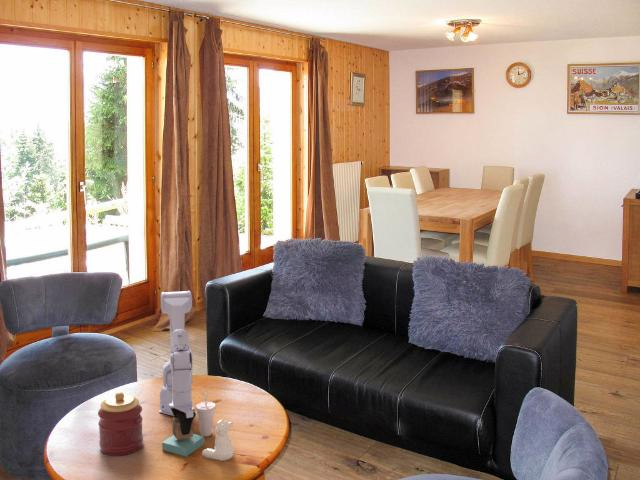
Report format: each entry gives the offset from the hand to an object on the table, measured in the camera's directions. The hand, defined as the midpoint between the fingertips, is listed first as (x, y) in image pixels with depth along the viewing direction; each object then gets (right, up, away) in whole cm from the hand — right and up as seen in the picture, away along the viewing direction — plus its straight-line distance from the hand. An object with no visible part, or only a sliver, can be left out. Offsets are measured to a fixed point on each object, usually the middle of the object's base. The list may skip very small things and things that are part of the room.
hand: (182, 430), depth 206 cm
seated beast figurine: (+13, -7, -4) cm, 15 cm away
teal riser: (0, -5, +1) cm, 5 cm away
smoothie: (+5, -4, +10) cm, 12 cm away
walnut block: (0, -1, 0) cm, 2 cm away
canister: (-19, -5, +1) cm, 20 cm away
